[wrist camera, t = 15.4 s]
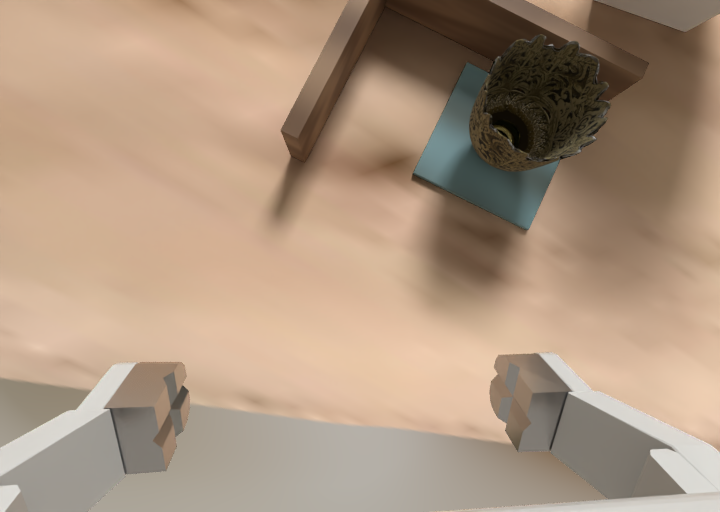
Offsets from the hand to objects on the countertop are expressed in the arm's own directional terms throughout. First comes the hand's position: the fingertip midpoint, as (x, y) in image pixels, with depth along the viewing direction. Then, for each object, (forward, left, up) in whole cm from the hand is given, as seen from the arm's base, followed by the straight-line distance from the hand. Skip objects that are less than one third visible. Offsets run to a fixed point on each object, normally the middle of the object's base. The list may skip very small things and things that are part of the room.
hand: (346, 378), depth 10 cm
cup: (-11, +14, -19) cm, 26 cm away
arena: (-13, +11, -19) cm, 25 cm away
